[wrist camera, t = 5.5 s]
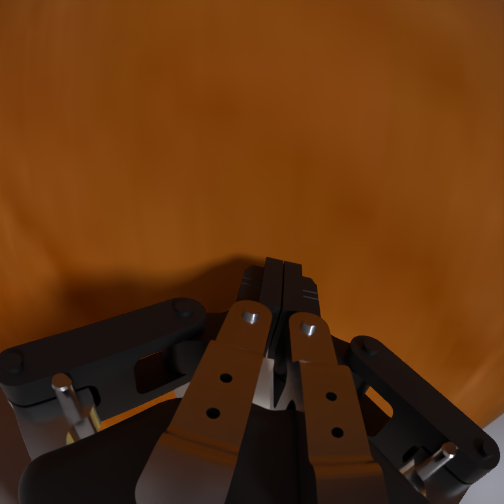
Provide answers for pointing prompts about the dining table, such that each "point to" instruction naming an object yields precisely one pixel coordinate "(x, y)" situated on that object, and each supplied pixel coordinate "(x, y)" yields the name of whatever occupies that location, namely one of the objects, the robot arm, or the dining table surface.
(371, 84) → the dining table surface
